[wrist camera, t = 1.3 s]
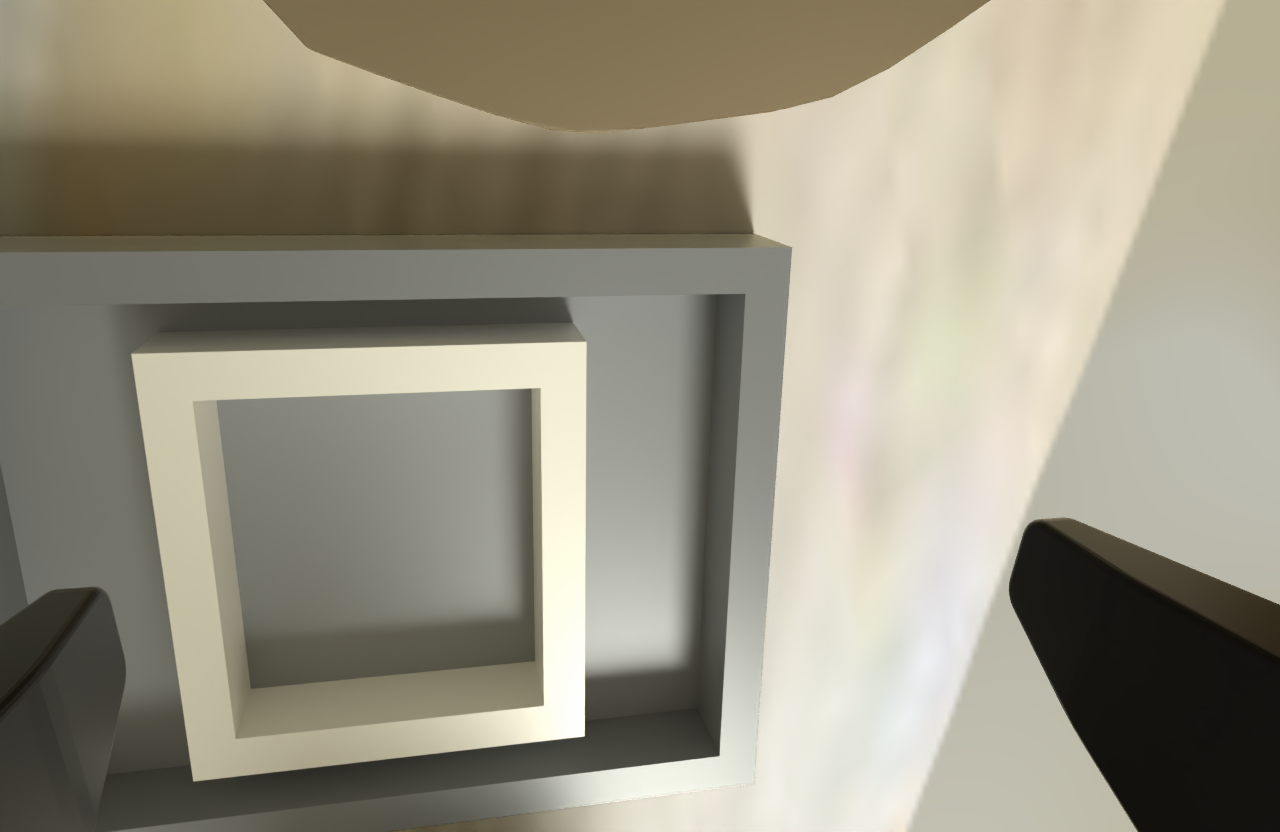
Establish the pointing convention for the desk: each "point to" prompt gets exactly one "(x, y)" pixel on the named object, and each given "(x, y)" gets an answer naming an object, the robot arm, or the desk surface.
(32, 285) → the walled box
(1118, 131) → the desk surface
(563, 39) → the handle
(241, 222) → the desk surface
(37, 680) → the robot arm
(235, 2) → the desk surface
